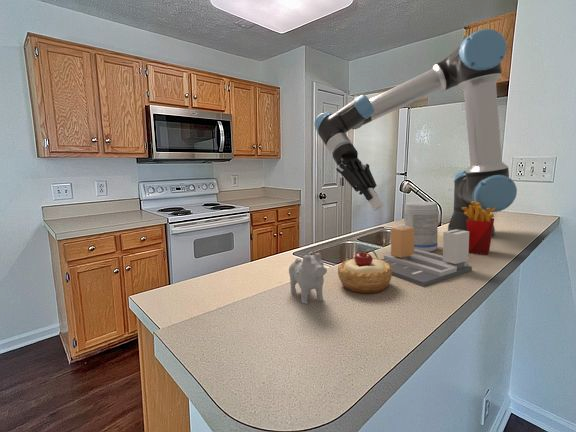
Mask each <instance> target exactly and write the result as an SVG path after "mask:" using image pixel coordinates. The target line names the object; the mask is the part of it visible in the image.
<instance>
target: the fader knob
mask: <svg viewBox="0 0 576 432" xmlns="http://www.w3.org/2000/svg"><path fill="white" fill-rule="evenodd" d="M390 254H391V255H393V256H395V257H398V258H402V259H405V260H410V255H414V228H412V227H409V226H405V225H401V226H397V227H392V228H390Z"/></svg>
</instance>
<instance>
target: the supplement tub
mask: <svg viewBox="0 0 576 432" xmlns="http://www.w3.org/2000/svg"><path fill="white" fill-rule="evenodd" d="M438 217H439V213H438V203H437V202H434V201H409V202H408V201H407V202H406V203H405V205H404V226H409V227H412V228H414V249H418V250H422V251H426V252H430V253H432V252H433V251H436V250H437V249H438V233H439V232H438V229H439V228H438V226H439V225H438V222H439V221H438Z"/></svg>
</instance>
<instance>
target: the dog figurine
mask: <svg viewBox="0 0 576 432" xmlns="http://www.w3.org/2000/svg"><path fill="white" fill-rule="evenodd" d="M327 271H328V269H327V268H326V267H324V262H323V260H322V255H321V253H320V252H316V253H315V254H311V255H307V254H306V255H304V256H303V257H302V258H299V257H298V258H297V257H296V259H295V260H294V262H292V263H291V264H290V265H289V267H288V274H289V278H290V280H289V281H290V293H291V292H296V291H297V289H296V285H297V284H298V286H299V289H300V290H301V291H300V292H301V294H300V297H301V299H300V301H301V302H302V303H306V304H305V305H307V304H309V303H308V299H309V294H310V293H309V292H310V291H311V290H315V292H316V300H317V299H318V301H320V300H321V301H324V300H323V299H324V296H323V294H324V293H323V285H324V283H325V282H324V278H325V277H324V275H326V274H327ZM296 293H297V292H296ZM301 302H300V303H301ZM302 303H301V304H302Z"/></svg>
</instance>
